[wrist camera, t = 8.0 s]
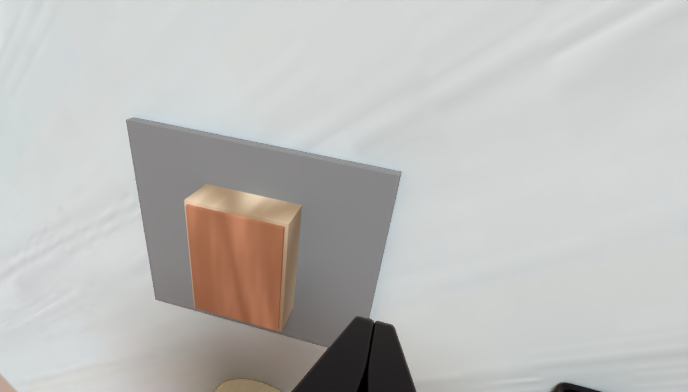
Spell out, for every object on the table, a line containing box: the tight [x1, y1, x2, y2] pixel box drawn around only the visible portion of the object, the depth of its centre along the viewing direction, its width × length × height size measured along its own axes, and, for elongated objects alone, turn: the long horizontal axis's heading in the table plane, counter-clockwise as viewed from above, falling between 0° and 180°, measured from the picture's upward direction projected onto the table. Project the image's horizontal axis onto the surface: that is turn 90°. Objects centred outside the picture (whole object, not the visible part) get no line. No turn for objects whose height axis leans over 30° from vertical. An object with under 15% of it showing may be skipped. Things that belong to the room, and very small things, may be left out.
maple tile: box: [184, 184, 302, 332], centre depth 21 cm, size 2×8×6 cm
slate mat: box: [126, 118, 401, 347], centre depth 23 cm, size 16×14×1 cm
